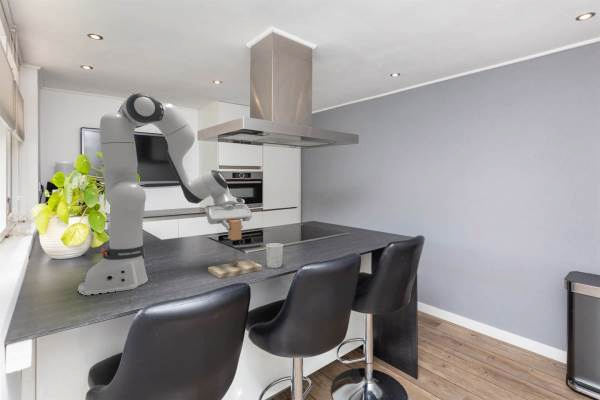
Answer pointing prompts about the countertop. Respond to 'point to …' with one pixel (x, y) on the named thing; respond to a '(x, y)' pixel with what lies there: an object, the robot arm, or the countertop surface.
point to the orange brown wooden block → (234, 230)
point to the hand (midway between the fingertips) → (235, 228)
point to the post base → (234, 268)
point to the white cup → (274, 255)
